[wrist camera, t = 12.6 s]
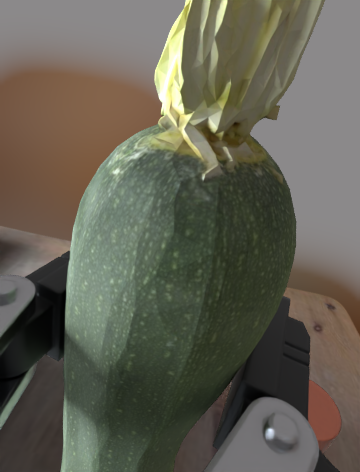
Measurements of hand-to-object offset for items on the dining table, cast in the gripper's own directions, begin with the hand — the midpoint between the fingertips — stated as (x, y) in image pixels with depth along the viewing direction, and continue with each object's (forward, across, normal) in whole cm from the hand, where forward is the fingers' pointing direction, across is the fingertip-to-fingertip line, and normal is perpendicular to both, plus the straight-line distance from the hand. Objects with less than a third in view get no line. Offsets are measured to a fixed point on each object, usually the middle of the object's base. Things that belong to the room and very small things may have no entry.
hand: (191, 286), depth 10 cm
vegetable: (-3, 0, +11) cm, 12 cm away
